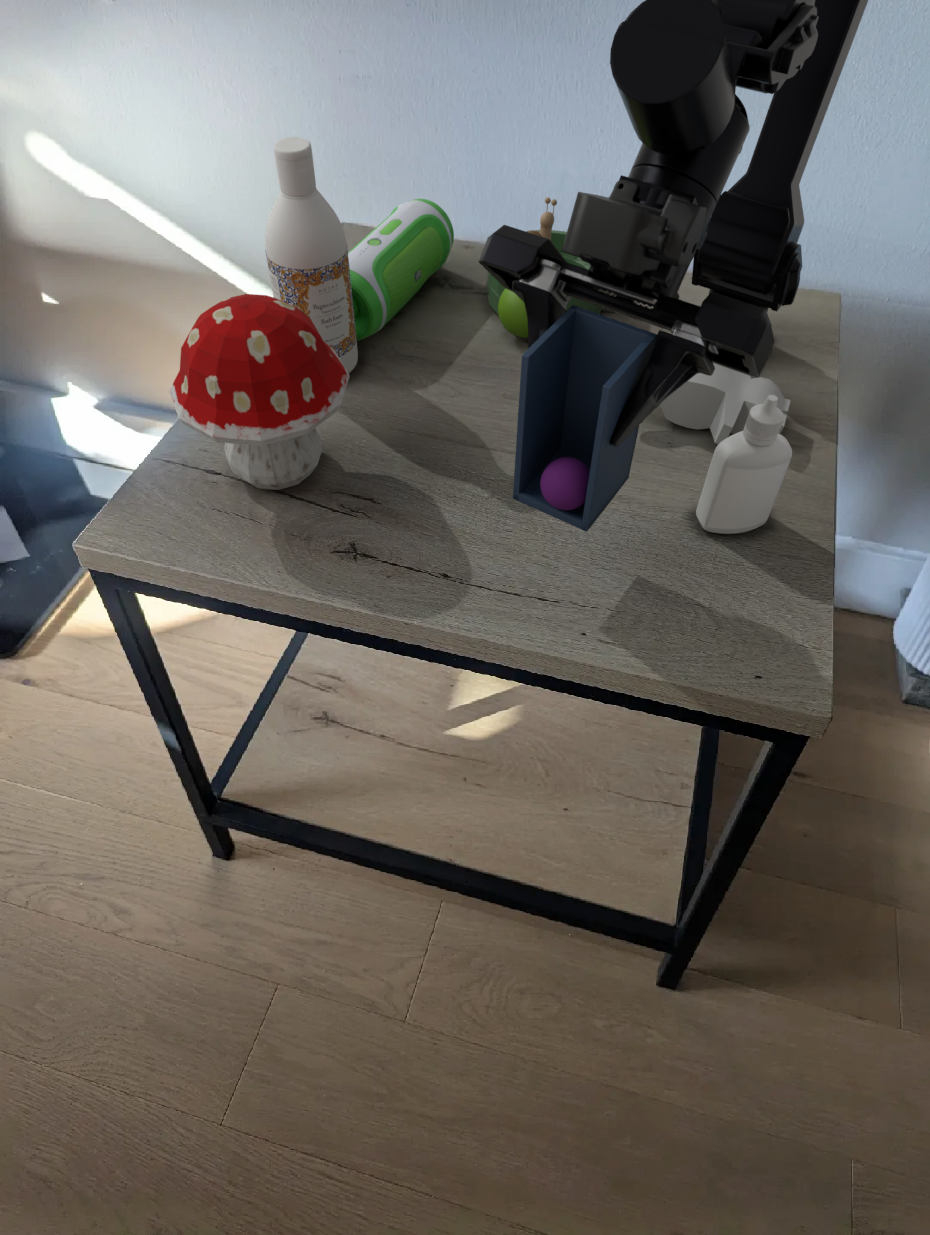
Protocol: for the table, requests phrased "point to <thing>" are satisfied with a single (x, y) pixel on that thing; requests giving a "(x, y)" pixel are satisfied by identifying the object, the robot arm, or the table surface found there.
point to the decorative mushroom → (259, 387)
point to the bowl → (558, 240)
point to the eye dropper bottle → (746, 473)
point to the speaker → (397, 262)
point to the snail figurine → (509, 302)
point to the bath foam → (310, 251)
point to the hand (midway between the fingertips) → (569, 427)
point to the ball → (565, 483)
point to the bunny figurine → (720, 401)
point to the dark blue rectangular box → (578, 407)
